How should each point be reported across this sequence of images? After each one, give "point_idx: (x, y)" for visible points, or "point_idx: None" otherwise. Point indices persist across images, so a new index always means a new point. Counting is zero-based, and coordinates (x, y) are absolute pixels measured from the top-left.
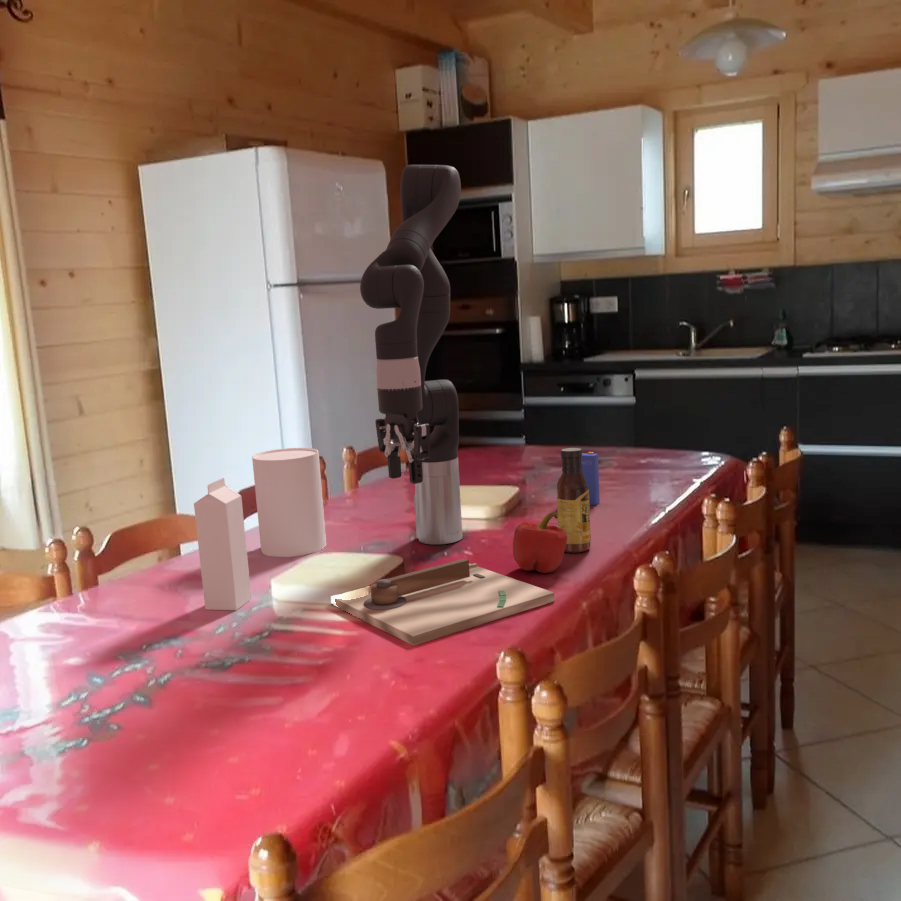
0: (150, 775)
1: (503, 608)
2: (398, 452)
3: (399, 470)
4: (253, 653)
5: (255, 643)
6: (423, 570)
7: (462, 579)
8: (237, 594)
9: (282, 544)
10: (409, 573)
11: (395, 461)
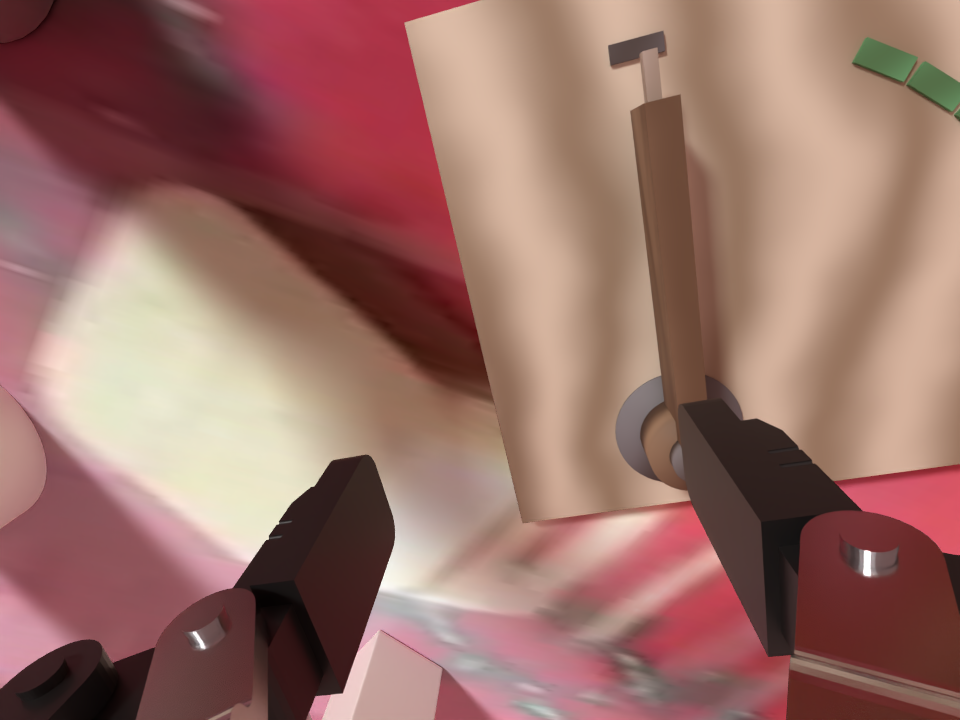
0: None
1: None
2: (266, 638)
3: (355, 495)
4: (724, 700)
5: (671, 685)
6: (681, 312)
7: (627, 125)
8: (428, 694)
9: (9, 510)
10: (679, 366)
11: (335, 597)
